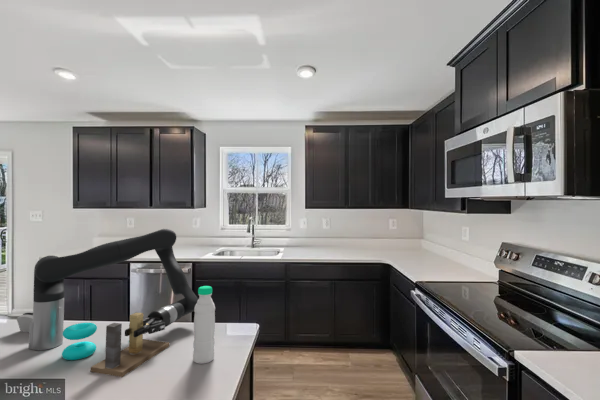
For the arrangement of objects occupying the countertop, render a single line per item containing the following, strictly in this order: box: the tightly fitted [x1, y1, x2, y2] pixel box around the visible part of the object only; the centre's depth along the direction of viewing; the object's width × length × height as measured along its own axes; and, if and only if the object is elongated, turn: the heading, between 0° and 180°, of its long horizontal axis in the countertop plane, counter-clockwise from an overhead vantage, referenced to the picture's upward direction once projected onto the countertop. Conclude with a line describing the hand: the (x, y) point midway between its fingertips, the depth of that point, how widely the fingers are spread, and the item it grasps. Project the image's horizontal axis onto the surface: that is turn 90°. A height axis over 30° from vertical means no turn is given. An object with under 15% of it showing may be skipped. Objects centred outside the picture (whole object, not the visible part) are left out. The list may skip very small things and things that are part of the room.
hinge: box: [16, 310, 33, 333], centre depth 132 cm, size 17×5×10 cm, turn 72°
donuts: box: [61, 322, 98, 361], centre depth 113 cm, size 10×10×10 cm
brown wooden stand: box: [90, 322, 170, 378], centre depth 111 cm, size 23×12×14 cm, turn 166°
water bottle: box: [192, 285, 216, 365], centre depth 111 cm, size 7×7×25 cm
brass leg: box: [128, 311, 144, 354], centre depth 112 cm, size 3×3×13 cm
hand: (130, 333), depth 110 cm, fingers closed on brass leg, 3 cm apart
